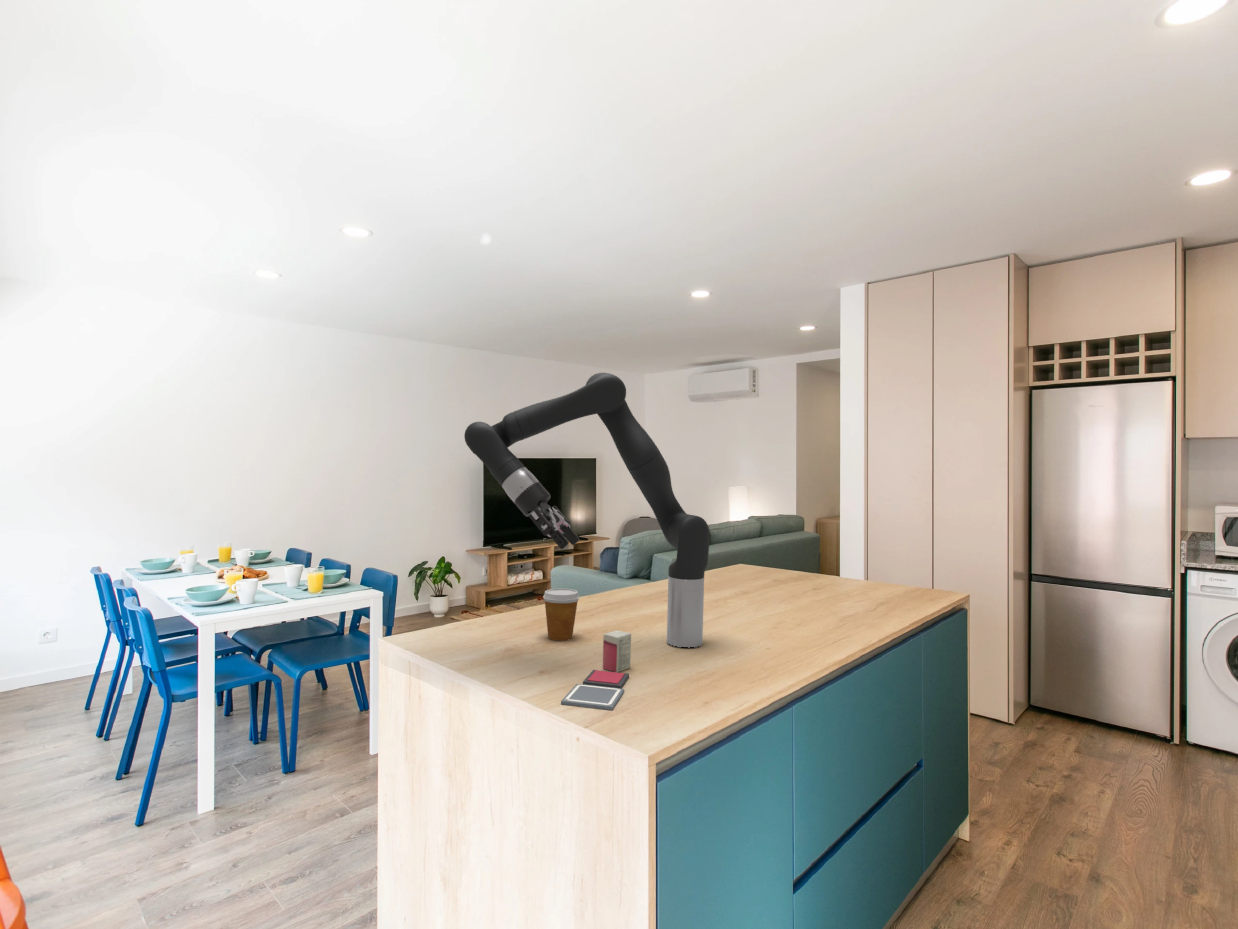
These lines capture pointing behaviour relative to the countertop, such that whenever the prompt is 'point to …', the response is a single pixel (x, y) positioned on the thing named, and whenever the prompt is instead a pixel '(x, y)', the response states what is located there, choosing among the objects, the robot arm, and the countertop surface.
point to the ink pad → (606, 679)
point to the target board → (593, 696)
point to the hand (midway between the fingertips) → (571, 544)
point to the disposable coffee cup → (560, 612)
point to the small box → (616, 651)
